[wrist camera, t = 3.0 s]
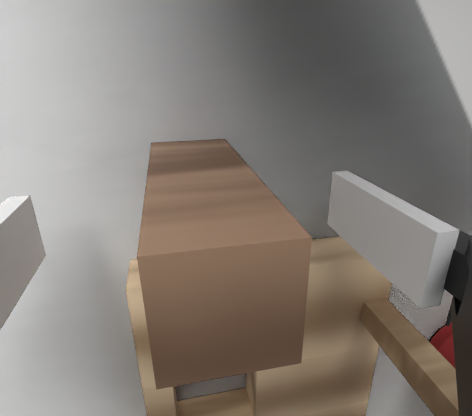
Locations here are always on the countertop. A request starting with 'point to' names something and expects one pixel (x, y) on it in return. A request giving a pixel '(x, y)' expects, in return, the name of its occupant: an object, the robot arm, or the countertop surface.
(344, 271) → the socket board
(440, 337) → the smoothie
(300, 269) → the peg
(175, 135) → the countertop surface
